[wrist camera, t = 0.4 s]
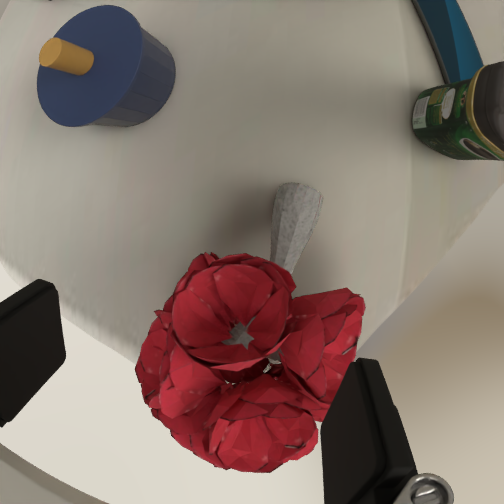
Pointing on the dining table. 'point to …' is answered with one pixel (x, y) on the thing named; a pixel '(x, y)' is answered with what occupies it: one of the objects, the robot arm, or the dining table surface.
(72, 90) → the tin lid
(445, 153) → the coffee jar
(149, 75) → the tin
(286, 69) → the dining table surface
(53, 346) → the robot arm
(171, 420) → the bouquet
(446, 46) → the smartphone
